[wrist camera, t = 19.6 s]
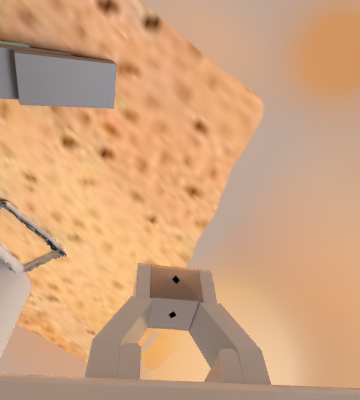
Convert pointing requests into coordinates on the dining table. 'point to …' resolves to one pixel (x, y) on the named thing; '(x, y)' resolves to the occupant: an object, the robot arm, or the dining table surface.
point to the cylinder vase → (11, 300)
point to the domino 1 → (14, 69)
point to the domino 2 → (64, 80)
